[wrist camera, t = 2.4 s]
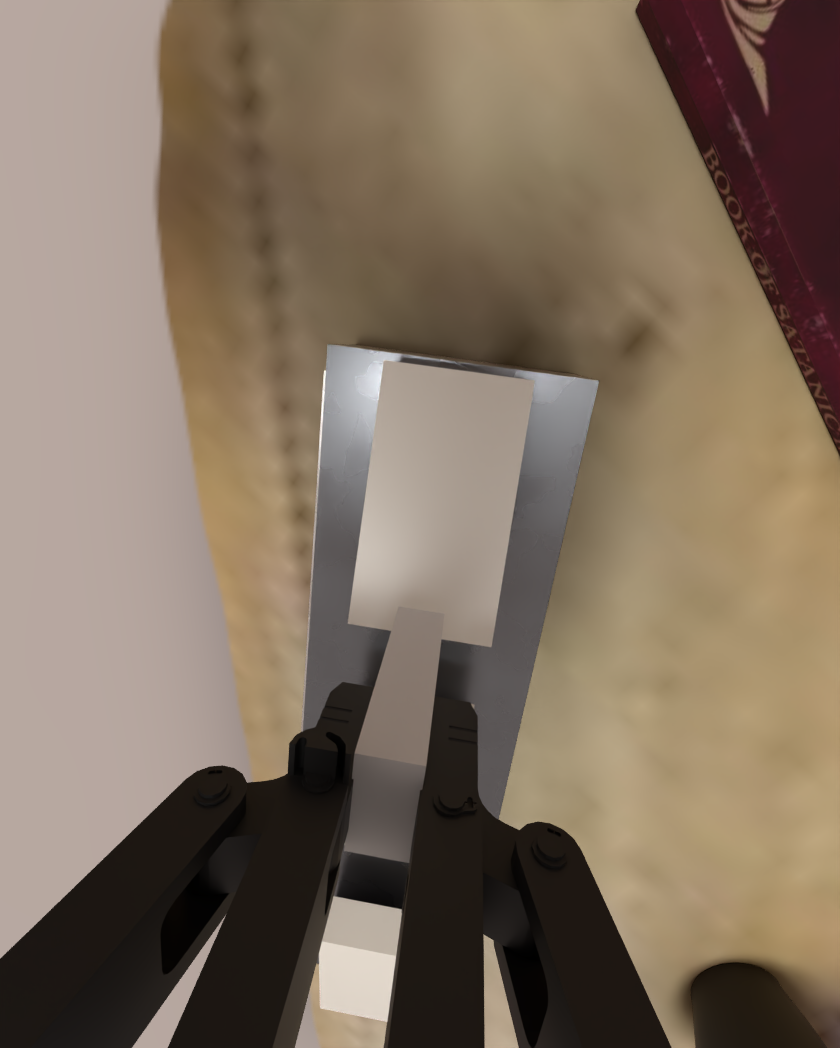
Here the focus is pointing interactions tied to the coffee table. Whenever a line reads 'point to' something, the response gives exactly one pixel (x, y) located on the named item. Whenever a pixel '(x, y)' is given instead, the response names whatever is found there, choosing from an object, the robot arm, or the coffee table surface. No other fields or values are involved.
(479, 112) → the coffee table surface
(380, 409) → the block
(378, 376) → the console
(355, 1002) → the block
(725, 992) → the mug
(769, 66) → the book
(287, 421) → the coffee table surface
